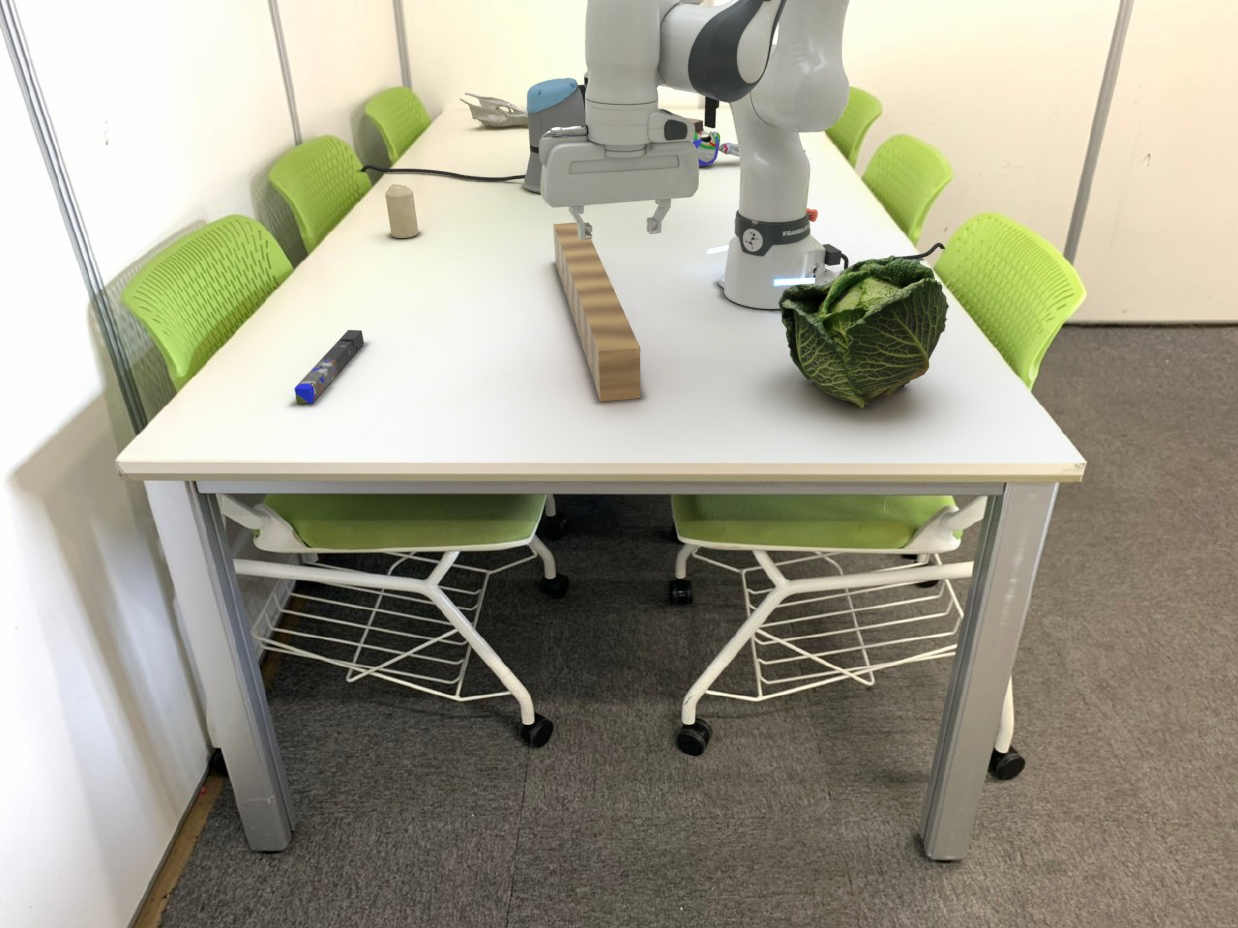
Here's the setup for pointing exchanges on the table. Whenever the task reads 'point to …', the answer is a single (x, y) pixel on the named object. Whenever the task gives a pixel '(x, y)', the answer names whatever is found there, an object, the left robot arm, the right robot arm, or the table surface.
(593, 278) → the beam
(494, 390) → the table surface
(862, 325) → the vegetable
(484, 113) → the anatomical model
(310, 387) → the pillar
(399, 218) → the candle
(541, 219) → the table surface
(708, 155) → the toy
